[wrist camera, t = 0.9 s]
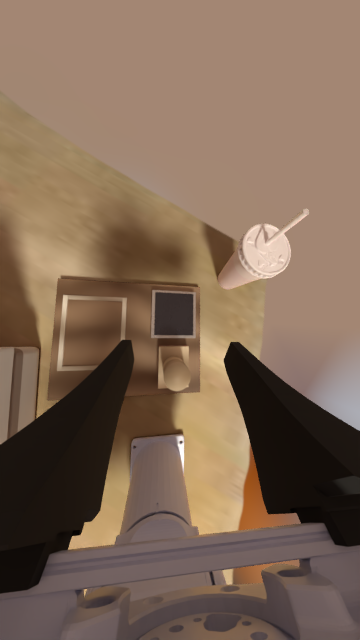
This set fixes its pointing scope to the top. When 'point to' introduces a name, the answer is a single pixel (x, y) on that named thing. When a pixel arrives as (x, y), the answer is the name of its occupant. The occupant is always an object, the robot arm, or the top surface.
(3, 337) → the top surface
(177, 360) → the stamp
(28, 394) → the toaster
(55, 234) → the top surface
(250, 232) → the smoothie
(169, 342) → the board
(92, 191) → the top surface
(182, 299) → the ink pad
